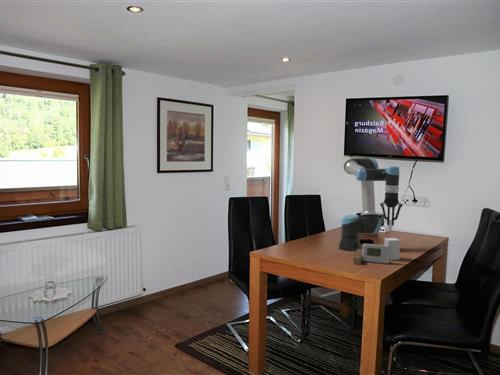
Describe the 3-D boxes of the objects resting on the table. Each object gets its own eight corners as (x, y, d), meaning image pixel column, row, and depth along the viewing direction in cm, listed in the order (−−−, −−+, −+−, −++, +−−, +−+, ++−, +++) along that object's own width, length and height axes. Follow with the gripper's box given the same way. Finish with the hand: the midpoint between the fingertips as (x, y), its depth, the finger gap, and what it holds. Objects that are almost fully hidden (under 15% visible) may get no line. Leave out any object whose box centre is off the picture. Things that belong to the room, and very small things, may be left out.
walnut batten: (356, 254, 260) (357, 248, 260) (363, 255, 259) (363, 249, 259) (353, 263, 238) (353, 257, 237) (360, 264, 236) (360, 258, 236)
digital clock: (360, 261, 244) (360, 244, 243) (364, 258, 251) (365, 242, 250) (387, 265, 235) (387, 248, 234) (391, 262, 242) (391, 245, 241)
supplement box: (395, 257, 255) (395, 237, 254) (399, 260, 248) (400, 240, 247) (383, 257, 255) (384, 237, 254) (387, 260, 247) (388, 240, 246)
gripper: (380, 192, 235) (378, 231, 238) (403, 193, 231) (402, 232, 234) (380, 191, 242) (378, 229, 245) (403, 191, 239) (401, 230, 241)
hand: (390, 230), depth 239 cm, fingers closed
